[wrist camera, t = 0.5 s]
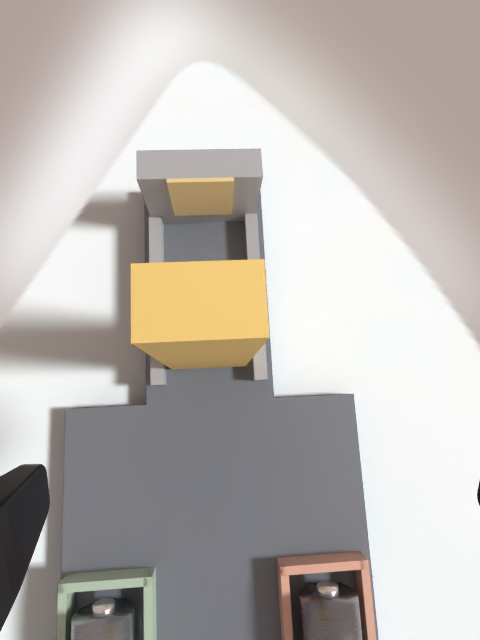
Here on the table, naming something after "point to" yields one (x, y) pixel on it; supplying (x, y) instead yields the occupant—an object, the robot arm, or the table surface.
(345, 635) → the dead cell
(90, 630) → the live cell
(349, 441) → the checker
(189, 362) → the tall mustard pillar
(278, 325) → the table surface
